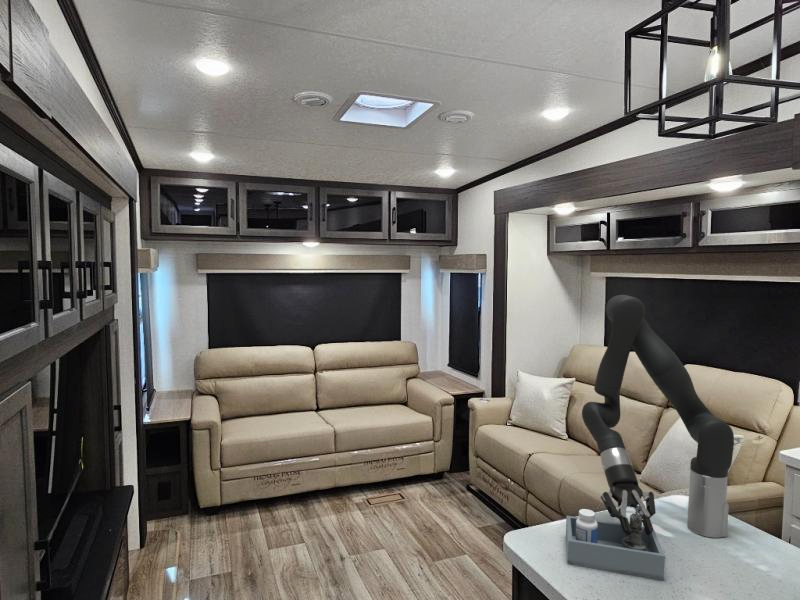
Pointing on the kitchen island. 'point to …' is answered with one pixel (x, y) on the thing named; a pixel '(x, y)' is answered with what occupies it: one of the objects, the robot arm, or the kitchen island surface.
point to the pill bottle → (586, 526)
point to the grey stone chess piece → (635, 534)
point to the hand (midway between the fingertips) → (639, 533)
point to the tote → (615, 551)
